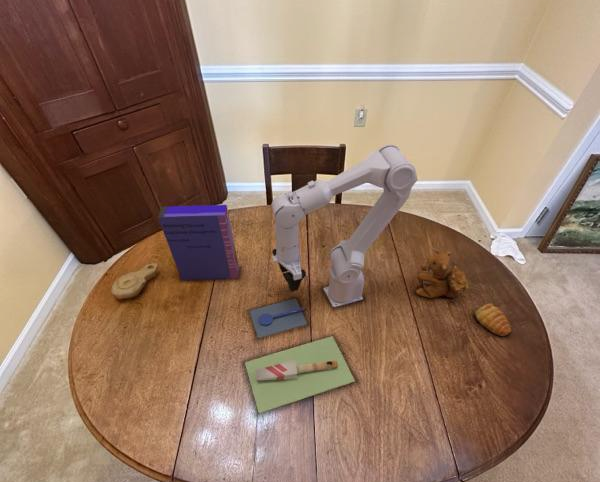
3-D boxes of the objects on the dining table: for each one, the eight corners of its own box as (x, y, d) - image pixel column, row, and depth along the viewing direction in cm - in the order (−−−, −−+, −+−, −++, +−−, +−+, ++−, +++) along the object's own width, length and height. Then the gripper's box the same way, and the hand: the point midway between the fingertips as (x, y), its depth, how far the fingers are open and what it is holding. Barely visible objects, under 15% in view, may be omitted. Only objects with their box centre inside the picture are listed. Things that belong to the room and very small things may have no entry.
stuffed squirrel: (419, 272, 110) (430, 239, 100) (466, 288, 105) (482, 255, 95) (409, 292, 104) (420, 259, 94) (458, 310, 99) (474, 278, 89)
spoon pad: (295, 299, 103) (295, 298, 103) (307, 324, 96) (307, 323, 96) (249, 311, 100) (249, 310, 100) (258, 338, 93) (258, 338, 93)
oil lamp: (163, 271, 111) (158, 260, 108) (145, 306, 102) (139, 294, 98) (131, 269, 112) (125, 258, 109) (110, 303, 103) (103, 292, 99)
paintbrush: (255, 364, 84) (335, 354, 87) (255, 370, 86) (334, 360, 89) (256, 379, 81) (339, 368, 84) (256, 384, 83) (338, 374, 86)
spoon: (302, 304, 101) (302, 302, 100) (307, 314, 98) (307, 312, 97) (257, 317, 98) (256, 314, 97) (260, 327, 95) (260, 325, 95)
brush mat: (332, 336, 94) (332, 335, 93) (354, 381, 84) (355, 380, 84) (244, 363, 88) (244, 362, 88) (258, 414, 79) (258, 413, 79)
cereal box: (239, 268, 112) (226, 204, 95) (237, 278, 109) (224, 214, 91) (184, 269, 112) (162, 205, 94) (181, 280, 109) (157, 216, 91)
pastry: (515, 331, 94) (521, 323, 91) (496, 341, 92) (502, 332, 89) (488, 307, 100) (493, 298, 97) (470, 315, 98) (475, 307, 95)
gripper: (263, 228, 89) (267, 266, 99) (281, 264, 79) (283, 303, 89) (289, 222, 90) (291, 260, 100) (309, 257, 81) (309, 296, 91)
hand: (289, 280), depth 95 cm, fingers open, 7 cm apart
